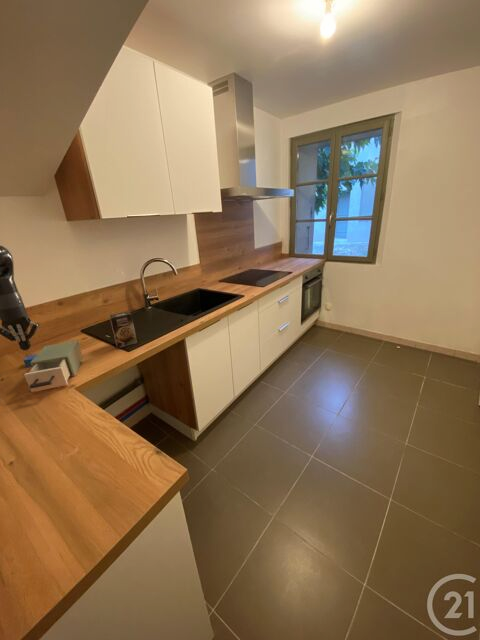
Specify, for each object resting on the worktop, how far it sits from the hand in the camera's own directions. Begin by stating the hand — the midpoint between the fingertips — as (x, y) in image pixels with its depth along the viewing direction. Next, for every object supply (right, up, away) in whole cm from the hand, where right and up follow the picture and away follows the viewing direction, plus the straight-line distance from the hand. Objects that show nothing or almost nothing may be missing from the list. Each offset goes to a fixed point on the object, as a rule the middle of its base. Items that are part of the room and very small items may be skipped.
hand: (26, 349), depth 97 cm
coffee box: (+25, -2, +30) cm, 39 cm away
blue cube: (-9, -9, +16) cm, 20 cm away
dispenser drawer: (+9, -13, +1) cm, 16 cm away
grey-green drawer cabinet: (+6, -10, +11) cm, 16 cm away
